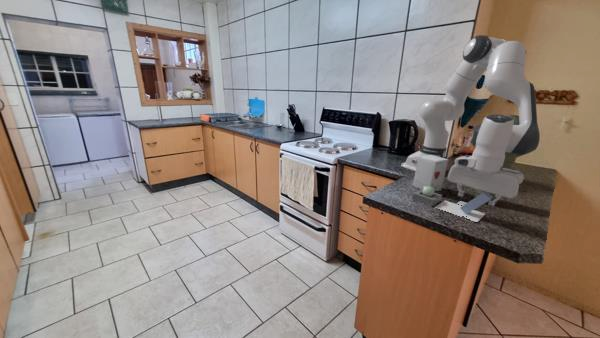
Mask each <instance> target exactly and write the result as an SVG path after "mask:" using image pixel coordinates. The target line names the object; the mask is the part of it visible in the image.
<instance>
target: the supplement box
mask: <svg viewBox="0 0 600 338" xmlns="http://www.w3.org/2000/svg"><path fill="white" fill-rule="evenodd" d="M448 163H449V159H448V158H441V157H438V156H434V155H425V156H419V157H418V162H417V167H416V171H414V172H415V173H414V178H413V183H412V187H413V186H414V187H413V188H416V189H418V188H419V190H421V189H423V187H424V186H430V187H433V188H434V193H436V192H438V191H442V188H443V182H444V178H445V175H446V171H447V166H448Z"/></svg>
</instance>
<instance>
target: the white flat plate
mask: <svg viewBox="0 0 600 338" xmlns="http://www.w3.org/2000/svg"><path fill="white" fill-rule="evenodd" d="M460 207H462V206H461V205H458V204H457V203H455V202H451V201H448V200H443V201H442V202H439V203H438V205H437V204H436V205H435V206H434V209H436V208H438V209H440V210H439V211H441V210H443V211H442V212H444V211H446V212H449V213H452V214H454V215H453V216H455V215H457V216H460V217H462V216H464V217H465V218H467V219H470V220H471V221H474V222H477V223H478V222H480V221H481V219H482V218H483V217H485V215H486V213H483V212H481V211H479V210H476V209H474V210H473V211H471V212H469V213H468V214H465V213H464V212H463V211H462V210H461V209H460ZM438 209H437V210H438ZM446 212H445V213H446ZM449 213H448V214H449ZM452 214H451V215H452ZM457 216H456V217H457ZM466 216H467V217H466ZM460 217H459V218H460ZM471 221H470V222H471ZM474 222H473V223H474Z"/></svg>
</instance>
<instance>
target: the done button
mask: <svg viewBox="0 0 600 338" xmlns="http://www.w3.org/2000/svg"><path fill="white" fill-rule="evenodd" d="M433 193H435V192H434V188H433V187H430V186H424V187H423V192H422V195H424V196H427V197H430V198H432V197H433Z"/></svg>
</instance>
